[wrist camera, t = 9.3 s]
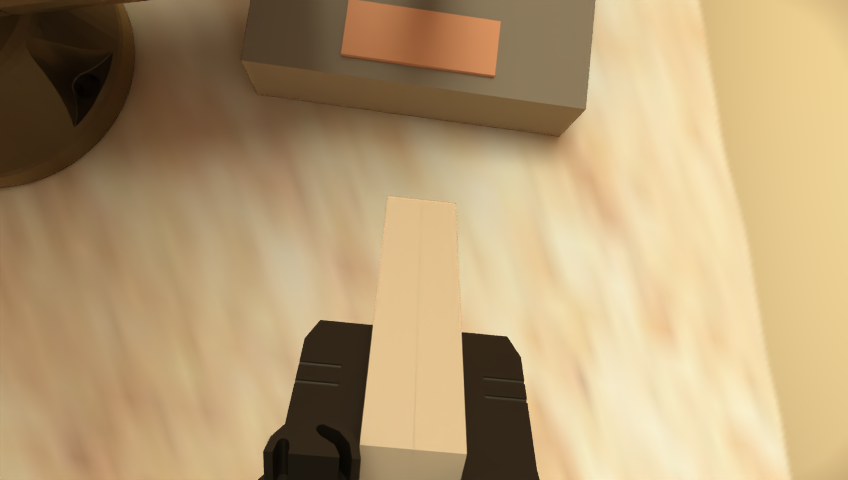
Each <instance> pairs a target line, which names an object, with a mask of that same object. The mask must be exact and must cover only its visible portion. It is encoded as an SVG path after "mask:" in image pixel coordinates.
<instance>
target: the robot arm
mask: <svg viewBox="0 0 848 480" xmlns="http://www.w3.org/2000/svg"><path fill="white" fill-rule="evenodd" d="M138 1H147V0H0V188H2V187H10V186H16V185H21V184H25V183H29V182H33V181H36V180H39V179H42V178H44V177H47V176H49V175H52V174H54V173H56V172H58V171H60V170H62V169H64V168H65V167H67V166H69V165H70V164H72V163H73V162H75V161H76V160H78V159H79V158H80V157H82V156H83V155H84V154H86V153H87V152H88V151H89V150H90V149H91V148H92V147H93V146H95V145H96V144H97V142H98V141H99V140H100V139H101V138H102V137H103V136H104V135H105V133H106V132H107V131H108V130H109V128H110V127H111V126H112V124H113V123H114V121H115V120H116V118H117V116H118V114H119V113H120V111H121V109H122V107H123V105H124V102H125V100H126V97H127V95H128V92H129V89H130V85H131V81H132V77H133V70H134V59H135V53H134V39H133V33H132V28H131V24H130V21H129V18H128V15H127V12H126V10H125V8H124V5H123V3H130V2H138ZM526 399H527V397H526V390H525V384H524V376H523V369H522V362H521V357H520V355H519V354H518V352H517V351H516V349H515V348H514V346H513V345H512V343H511V342H510V340H509V339H508V337H505V336H495V335H485V334H475V333H464V332H461V310H460V287H459V265H458V242H457V219H456V203H449V202H440V201H431V200H421V199H412V198H403V197H394V196H388V198H387V207H386V215H385V224H384V233H383V242H382V251H381V260H380V269H379V278H378V286H377V295H376V304H375V313H374V322H373V325H366V324H355V323H345V322H335V321H324V320H320V321H319V322H318V323H317V325H316V326H315V327H314V328H313V329H312V331H311V332H310V333H309V334H308V335H307V336H306V338H305V340H304V344H303V348H302V353H301V357H300V363H299V366H298V370H297V374H296V379H295V383H294V388H293V392H292V396H291V401H290V405H289V409H288V414H287V418H286V422H285V425H283V426H282V427H281V428H280V429H279V430H277V431H276V432H275V433H274V434H273V435H272V436H271V437H270V439H269V441H268V443H267V445H266V447H265V449H264V451H263V458H264V475H263V476H262V477H260V478H259V479H258V480H539V476H538V472H537V467H536V460H535V453H534V446H533V439H532V432H531V425H530V418H529V411H528V404H527V403H526Z"/></svg>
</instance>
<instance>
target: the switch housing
mask: <svg viewBox="0 0 848 480" xmlns="http://www.w3.org/2000/svg"><path fill="white" fill-rule="evenodd" d="M594 10H595V0H251V1H250V7H249V13H248V19H247V25H246V31H245V37H244V43H243V50H242V56H241V62H242V64H243V66H244V68H245V70H246V72H247V74H248V76H249V78H250V80H251V82H252V84H253V86H254V88H255V90H256V92H257V94H259V95H267V96H274V97H281V98H288V99H295V100H302V101H310V102H317V103H324V104H331V105H338V106H346V107H353V108H360V109H367V110H374V111H382V112H389V113H396V114H403V115H410V116H418V117H425V118H432V119H439V120H446V121H453V122H461V123H468V124H475V125H482V126H489V127H497V128H504V129H511V130H518V131H525V132H533V133H540V134H547V135H554V136H560V135H561V134H562V133H563V132H564V131H565V130H566V129H567V128H568V127H569V126H570V125H571V124H572V123H573V122H574V121H575V120H576V119H577V118H578V117H579V116H580V115H581V114H582V113H583V112H584V110H585V109H586V100H587V89H588V78H589V67H590V55H591V44H592V33H593V22H594Z"/></svg>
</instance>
